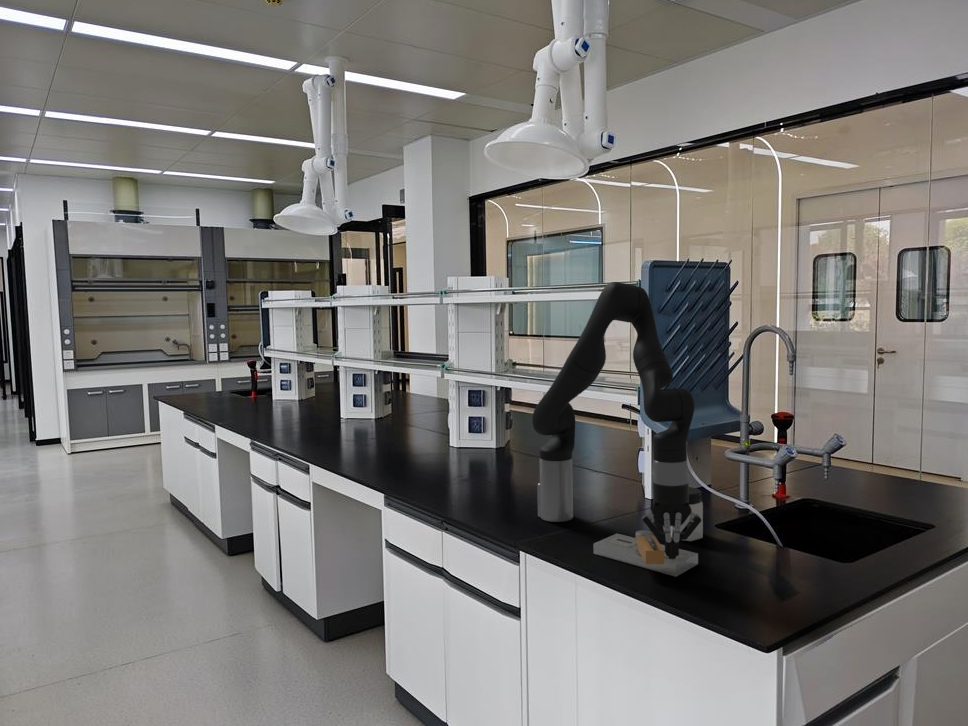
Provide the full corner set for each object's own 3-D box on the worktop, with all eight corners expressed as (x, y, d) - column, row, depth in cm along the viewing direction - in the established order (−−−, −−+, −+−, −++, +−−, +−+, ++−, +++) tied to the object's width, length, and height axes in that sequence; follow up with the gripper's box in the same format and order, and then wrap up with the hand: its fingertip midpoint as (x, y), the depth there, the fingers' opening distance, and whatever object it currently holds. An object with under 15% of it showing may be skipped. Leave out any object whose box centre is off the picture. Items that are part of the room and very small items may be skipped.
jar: (707, 540, 173) (707, 494, 172) (675, 542, 173) (675, 495, 172) (694, 529, 182) (694, 485, 181) (663, 531, 182) (663, 486, 181)
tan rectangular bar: (634, 542, 164) (634, 525, 163) (651, 542, 163) (651, 525, 163) (645, 564, 150) (645, 545, 149) (664, 564, 150) (664, 545, 149)
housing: (593, 553, 166) (593, 542, 166) (616, 543, 173) (616, 532, 173) (675, 576, 150) (675, 564, 150) (698, 564, 158) (697, 552, 157)
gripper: (641, 484, 147) (643, 563, 148) (705, 484, 145) (706, 564, 146) (637, 476, 154) (639, 551, 155) (698, 475, 152) (699, 552, 154)
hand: (672, 557), depth 151 cm, fingers closed
